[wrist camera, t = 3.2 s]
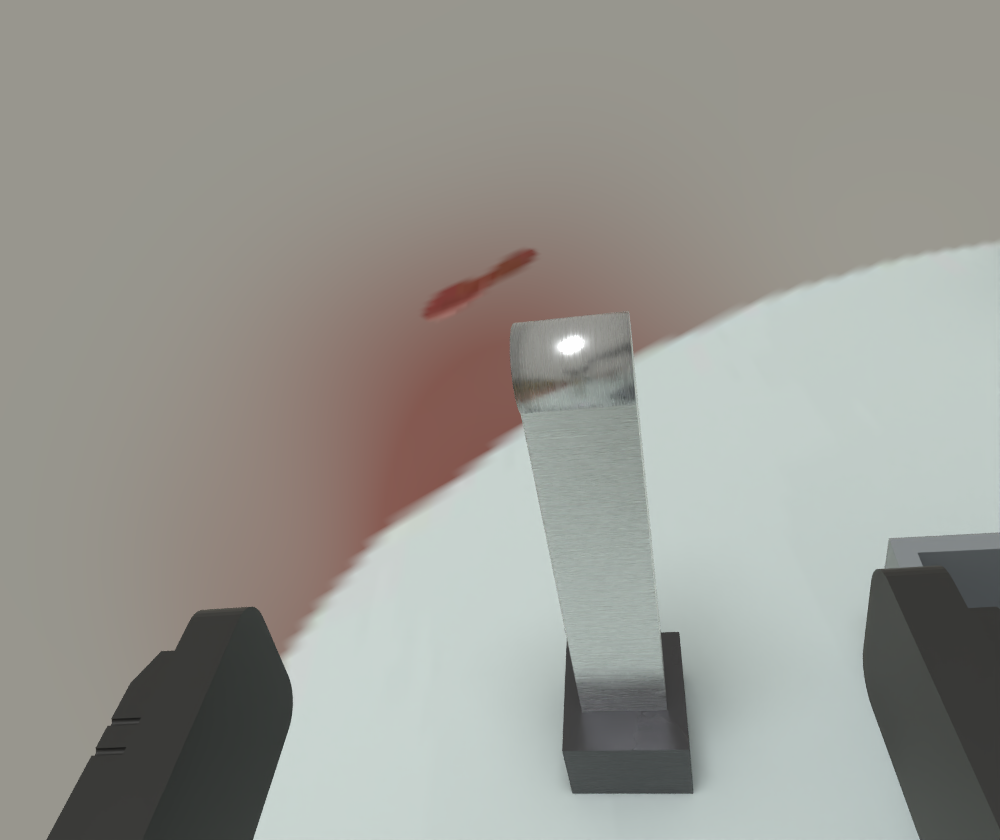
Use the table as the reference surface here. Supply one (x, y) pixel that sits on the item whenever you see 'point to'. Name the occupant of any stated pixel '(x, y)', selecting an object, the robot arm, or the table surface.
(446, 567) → the table surface
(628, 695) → the brushed steel column
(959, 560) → the holder
